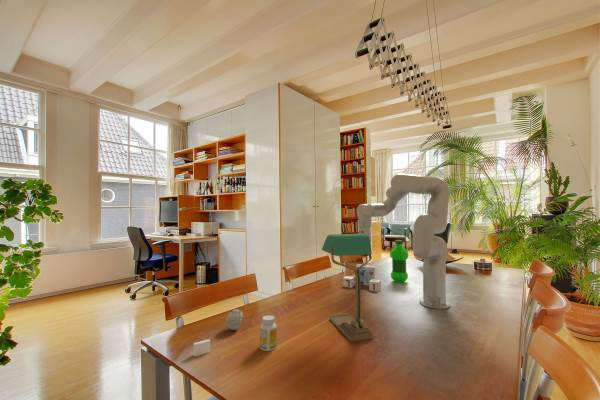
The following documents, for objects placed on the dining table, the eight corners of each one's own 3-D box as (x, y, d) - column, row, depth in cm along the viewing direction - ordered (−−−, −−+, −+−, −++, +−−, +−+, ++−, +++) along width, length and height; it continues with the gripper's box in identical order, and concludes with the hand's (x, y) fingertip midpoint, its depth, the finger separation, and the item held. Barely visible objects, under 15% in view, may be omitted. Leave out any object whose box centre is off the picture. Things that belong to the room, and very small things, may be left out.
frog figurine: (246, 327, 106) (246, 308, 106) (233, 334, 100) (233, 315, 100) (234, 324, 109) (234, 305, 109) (221, 330, 103) (221, 311, 103)
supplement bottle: (259, 352, 88) (259, 321, 88) (260, 343, 93) (260, 314, 93) (276, 351, 88) (276, 320, 89) (276, 343, 94) (276, 314, 94)
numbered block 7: (351, 287, 157) (351, 279, 157) (343, 286, 160) (343, 277, 160) (354, 285, 162) (354, 277, 162) (346, 284, 164) (346, 276, 164)
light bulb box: (355, 284, 164) (355, 266, 164) (356, 281, 170) (356, 263, 170) (374, 286, 161) (374, 267, 161) (374, 283, 167) (374, 265, 167)
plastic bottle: (396, 278, 177) (395, 239, 177) (411, 282, 169) (411, 240, 169) (387, 281, 170) (386, 240, 171) (402, 285, 162) (402, 242, 163)
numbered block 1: (378, 291, 150) (378, 282, 150) (369, 290, 152) (369, 281, 153) (380, 289, 155) (380, 280, 155) (371, 288, 157) (371, 278, 157)
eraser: (193, 355, 86) (193, 343, 86) (209, 350, 89) (209, 339, 89) (194, 356, 85) (194, 344, 85) (210, 352, 88) (210, 340, 88)
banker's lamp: (340, 343, 94) (340, 238, 94) (319, 318, 114) (319, 232, 115) (382, 337, 98) (381, 236, 99) (355, 314, 118) (354, 231, 119)
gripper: (367, 225, 158) (367, 258, 158) (374, 224, 171) (374, 254, 171) (354, 225, 162) (354, 257, 161) (362, 223, 175) (361, 253, 174)
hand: (364, 255), depth 166 cm, fingers closed
